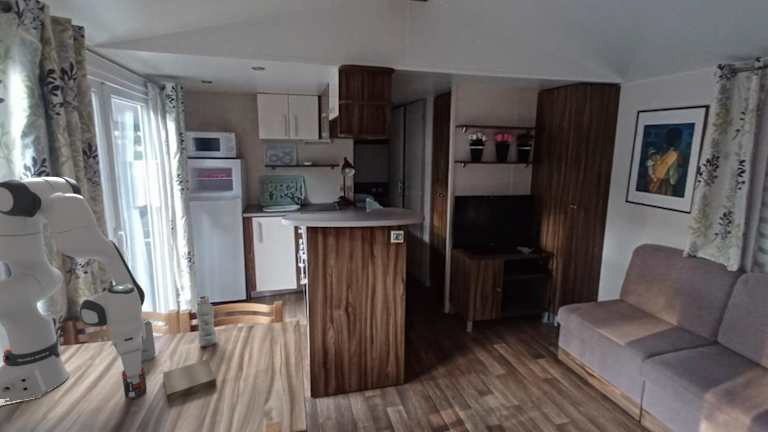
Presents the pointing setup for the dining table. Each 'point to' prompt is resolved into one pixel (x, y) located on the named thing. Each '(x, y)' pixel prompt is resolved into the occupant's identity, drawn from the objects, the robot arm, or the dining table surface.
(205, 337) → the plastic bottle
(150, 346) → the energy drink can
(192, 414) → the dining table surface
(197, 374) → the beige flat square block
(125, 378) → the supplement bottle
